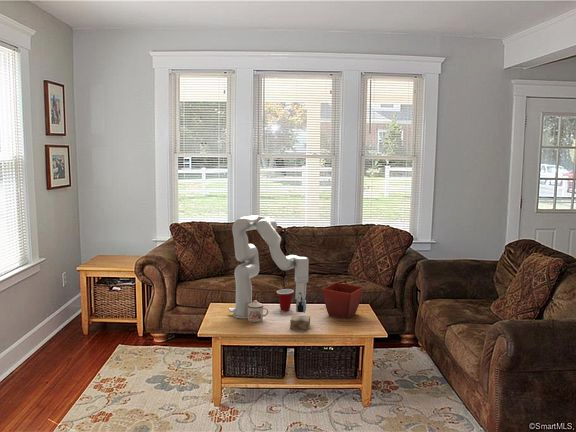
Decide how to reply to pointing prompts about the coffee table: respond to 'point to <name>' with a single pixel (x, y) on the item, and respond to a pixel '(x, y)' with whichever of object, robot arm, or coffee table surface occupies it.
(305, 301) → the slate block
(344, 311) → the plant pot
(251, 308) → the teacup with lid
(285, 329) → the coffee table surface
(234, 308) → the robot arm
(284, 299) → the plastic cup
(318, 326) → the coffee table surface
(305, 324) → the walnut plinth
